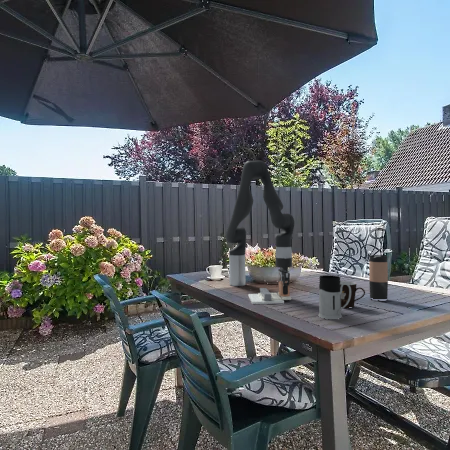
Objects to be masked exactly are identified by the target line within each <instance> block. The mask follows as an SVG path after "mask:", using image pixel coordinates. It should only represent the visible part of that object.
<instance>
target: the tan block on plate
mask: <svg viewBox="0 0 450 450" xmlns="http://www.w3.org/2000/svg"><path fill="white" fill-rule="evenodd" d="M285 283H287V282H286V281H285ZM290 286H291V285H290V282H289V286H288V294H287V295H284V294H283V285H282V281H279V280H278V292H277V293H278V294H279V296H280V297H281V298H282V300H284V301H288V300H289V301H291V300H292V297H291V295H290V293H291V292H290V290H291V288H290Z"/></svg>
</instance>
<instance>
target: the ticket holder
mask: <svg viewBox="0 0 450 450" xmlns="http://www.w3.org/2000/svg"><path fill="white" fill-rule="evenodd" d="M267 288H268V287H260V288H259V292H257V293H248V295H247V296H248V298H249V300H250V303H251V304H252V305H267V304H268V305H269V304H270V305H271V304H272V305H273V304H274V305H275V304H285V300H282V298H281V297H280V296H279V294H278V292H270V290H269V289H267Z"/></svg>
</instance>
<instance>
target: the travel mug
mask: <svg viewBox="0 0 450 450" xmlns="http://www.w3.org/2000/svg"><path fill="white" fill-rule="evenodd" d="M388 263H389V262H388V255H381V254H380V255H379V254H378V255H377V254H376V255H375V254H373V255H372V254H371V255H369V263H368V264H369V266H368V267H369V268H368V270H369V271H368V272H369V273H368V274H369V276H368V279H369V281H368V282H369V299H370V298H373V299H387V300H388V292H389V290H388V289H389V287H388V286H389V279H388V278H389V276H388V275H389V274H388V273H389V270H388V267H389V266H388Z"/></svg>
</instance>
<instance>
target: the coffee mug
mask: <svg viewBox="0 0 450 450" xmlns="http://www.w3.org/2000/svg"><path fill="white" fill-rule="evenodd" d="M343 283H347V284H349V285H350V287H351V298H350V301H349V303H348V305H347V306H345V307H344V308H343V309H347V308H349V307H354V308H355V303H356V302H357V301H359V300H361V299H362V298H363V297H364V296H365V295H366V291H365V289H364V288H362V287H361V286H360V287H357V284H358V283H357V282H355V281H349V280H348V281H347V280H342V281H341V280H340V288H341V285H342V284H343ZM358 290H362V292H363V294H362V296H360V297H358V298H356V292H357V291H358ZM348 299H349V287H348V286H347V285H346V284H344V285H343V287H342V293H341V307H343V306H344V305H345V304H346V303H347V301H348Z"/></svg>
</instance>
